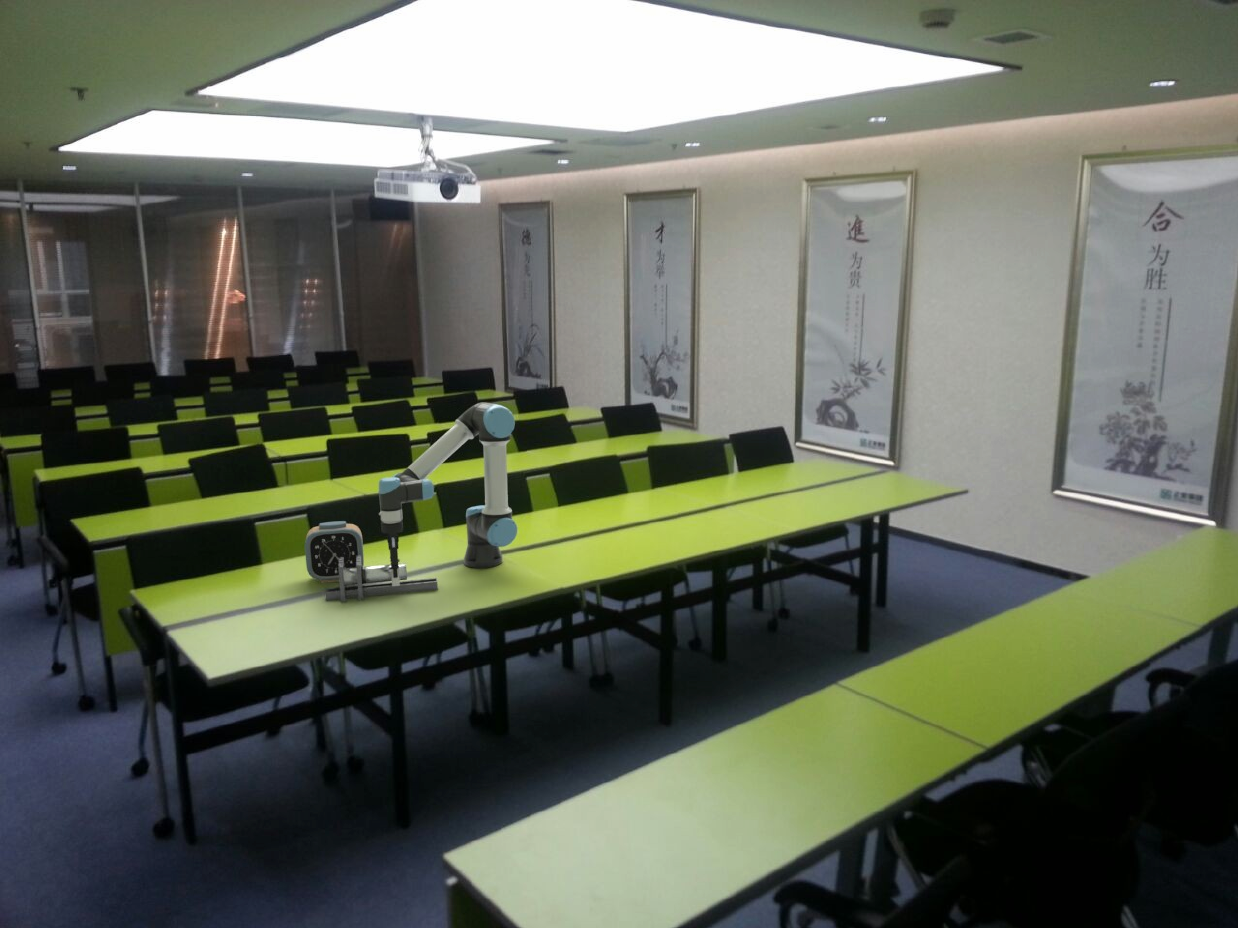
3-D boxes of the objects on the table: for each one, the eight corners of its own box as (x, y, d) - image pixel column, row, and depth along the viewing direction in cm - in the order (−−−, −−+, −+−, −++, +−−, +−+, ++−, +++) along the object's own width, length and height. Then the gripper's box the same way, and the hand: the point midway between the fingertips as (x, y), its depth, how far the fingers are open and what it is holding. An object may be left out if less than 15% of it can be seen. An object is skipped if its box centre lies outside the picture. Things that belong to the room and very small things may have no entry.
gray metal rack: (436, 582, 348) (434, 548, 346) (438, 592, 337) (436, 558, 334) (326, 593, 339) (324, 558, 336) (325, 604, 327) (322, 568, 324)
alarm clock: (307, 585, 348) (303, 529, 344) (309, 577, 357) (304, 522, 353) (364, 579, 353) (360, 524, 349) (364, 572, 362) (360, 518, 358)
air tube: (406, 576, 342) (405, 561, 341) (407, 581, 336) (406, 565, 335) (344, 582, 336) (342, 566, 335) (343, 587, 330) (342, 571, 329)
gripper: (380, 515, 342) (384, 576, 346) (381, 528, 324) (385, 591, 328) (401, 513, 344) (405, 574, 348) (403, 526, 326) (407, 589, 330)
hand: (395, 582), depth 338 cm, fingers closed on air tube, 6 cm apart
